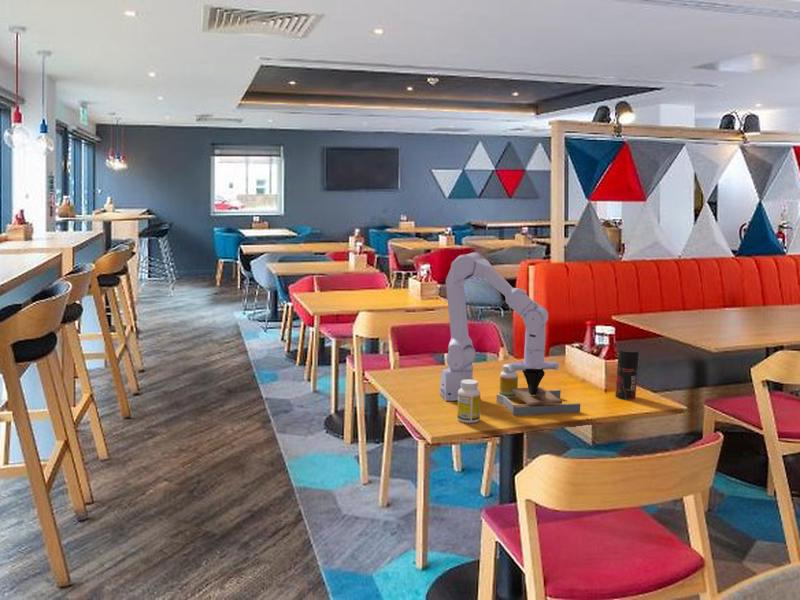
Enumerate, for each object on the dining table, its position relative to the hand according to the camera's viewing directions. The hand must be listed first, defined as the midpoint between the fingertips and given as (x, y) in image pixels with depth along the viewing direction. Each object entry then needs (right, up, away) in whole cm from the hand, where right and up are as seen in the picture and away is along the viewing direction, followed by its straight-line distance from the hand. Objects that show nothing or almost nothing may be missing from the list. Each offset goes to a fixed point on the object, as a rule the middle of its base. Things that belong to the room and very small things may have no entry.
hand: (532, 394), depth 209 cm
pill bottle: (-20, -6, -10) cm, 23 cm away
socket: (+2, -4, +2) cm, 5 cm away
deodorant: (+31, -3, +14) cm, 34 cm away
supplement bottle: (-5, -2, +12) cm, 14 cm away
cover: (+1, -1, +2) cm, 3 cm away
